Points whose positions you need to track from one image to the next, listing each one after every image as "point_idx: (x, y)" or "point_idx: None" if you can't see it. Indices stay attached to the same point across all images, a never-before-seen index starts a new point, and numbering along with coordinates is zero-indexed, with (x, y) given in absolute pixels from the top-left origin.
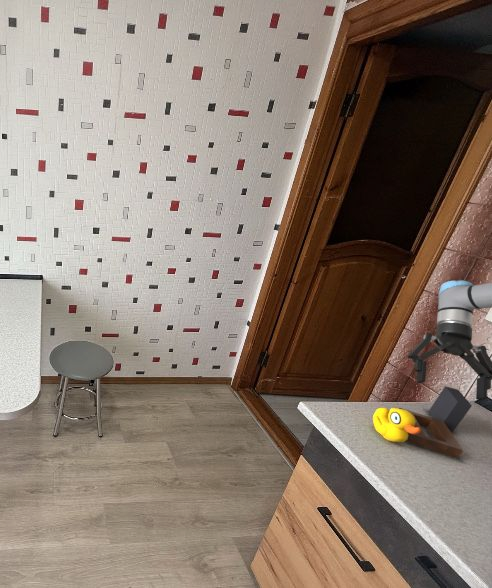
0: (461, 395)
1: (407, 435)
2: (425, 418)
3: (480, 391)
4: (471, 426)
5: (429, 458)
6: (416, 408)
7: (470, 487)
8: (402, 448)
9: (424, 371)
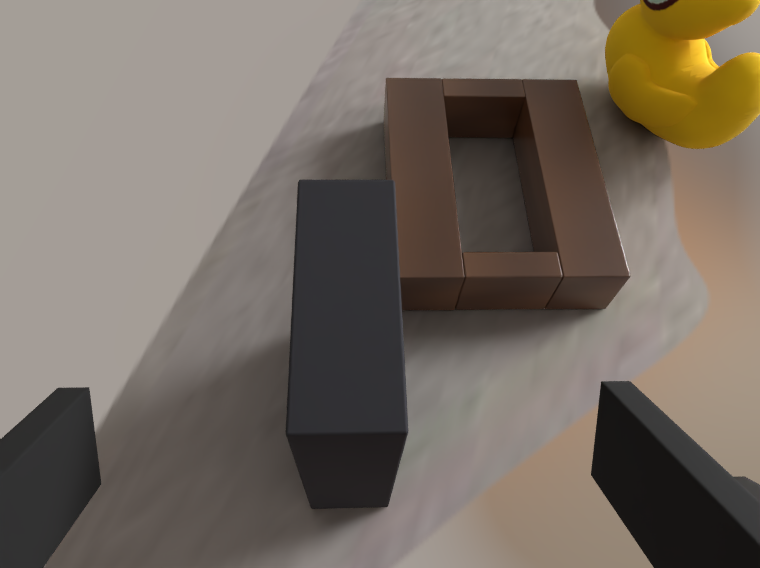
0: (310, 313)
1: (623, 13)
2: (492, 252)
3: (53, 477)
4: (142, 484)
5: (495, 72)
6: (461, 497)
7: (397, 6)
8: (586, 76)
9: (679, 447)
